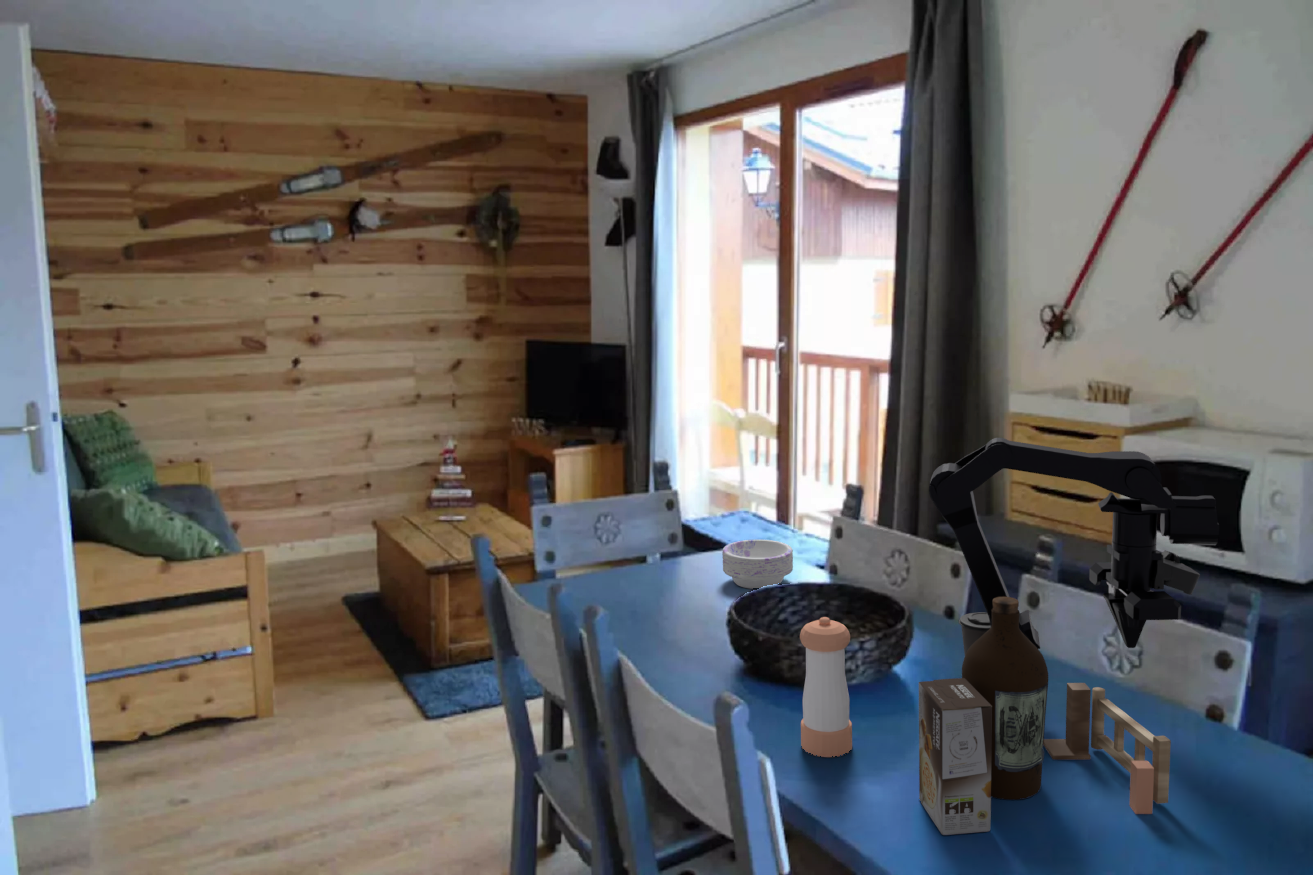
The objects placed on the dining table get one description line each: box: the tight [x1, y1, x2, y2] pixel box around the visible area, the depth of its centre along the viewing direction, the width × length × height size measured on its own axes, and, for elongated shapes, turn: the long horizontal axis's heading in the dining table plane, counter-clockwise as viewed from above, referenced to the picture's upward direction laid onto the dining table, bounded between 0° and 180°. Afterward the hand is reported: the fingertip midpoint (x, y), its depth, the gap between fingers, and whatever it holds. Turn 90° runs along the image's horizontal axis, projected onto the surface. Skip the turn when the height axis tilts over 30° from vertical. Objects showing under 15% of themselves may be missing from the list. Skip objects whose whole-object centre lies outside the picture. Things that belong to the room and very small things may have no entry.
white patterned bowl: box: [722, 539, 794, 590], centre depth 226 cm, size 15×15×8 cm
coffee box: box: [918, 677, 992, 836], centre depth 128 cm, size 9×6×16 cm
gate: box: [1090, 686, 1172, 805], centre depth 136 cm, size 17×2×8 cm, turn 5°
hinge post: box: [1043, 682, 1092, 761], centre depth 144 cm, size 5×5×10 cm
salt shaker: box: [799, 616, 853, 758], centre depth 148 cm, size 7×7×19 cm
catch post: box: [1128, 760, 1154, 815], centre depth 128 cm, size 2×2×6 cm
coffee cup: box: [957, 612, 991, 656], centre depth 172 cm, size 8×8×10 cm
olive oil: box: [961, 596, 1049, 801], centre depth 135 cm, size 11×11×25 cm
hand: (1130, 647), depth 150 cm, fingers closed
